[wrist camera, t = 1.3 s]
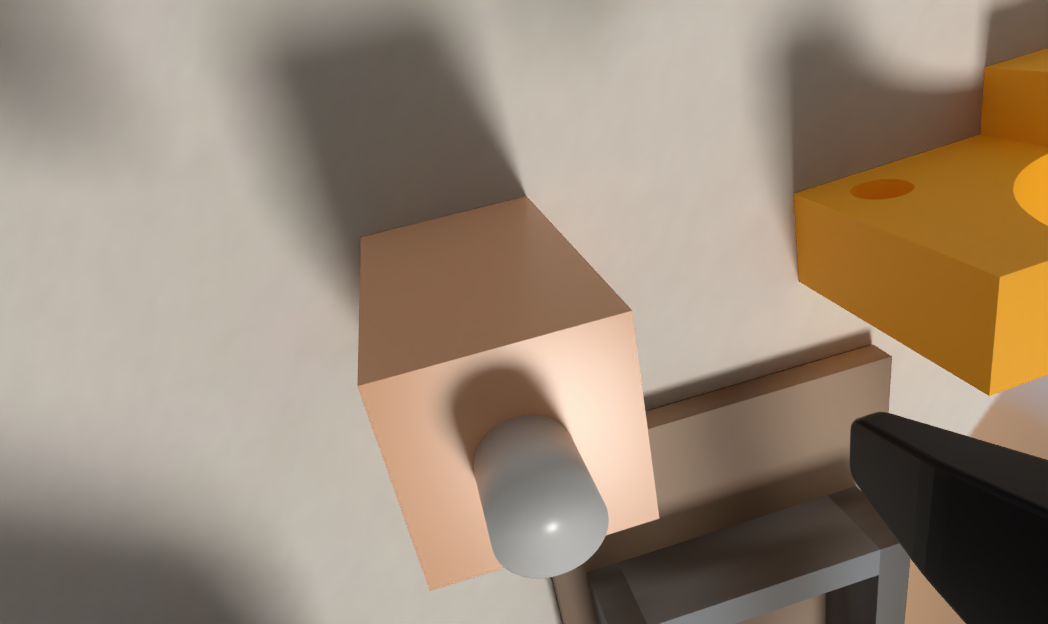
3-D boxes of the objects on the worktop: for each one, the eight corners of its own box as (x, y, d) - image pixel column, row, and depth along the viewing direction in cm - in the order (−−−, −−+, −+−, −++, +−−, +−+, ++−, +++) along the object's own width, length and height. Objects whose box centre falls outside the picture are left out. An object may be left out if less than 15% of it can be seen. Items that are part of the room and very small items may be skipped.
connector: (406, 381, 17) (439, 677, 9) (360, 237, 15) (355, 454, 8) (554, 340, 17) (701, 591, 10) (526, 195, 16) (679, 361, 8)
